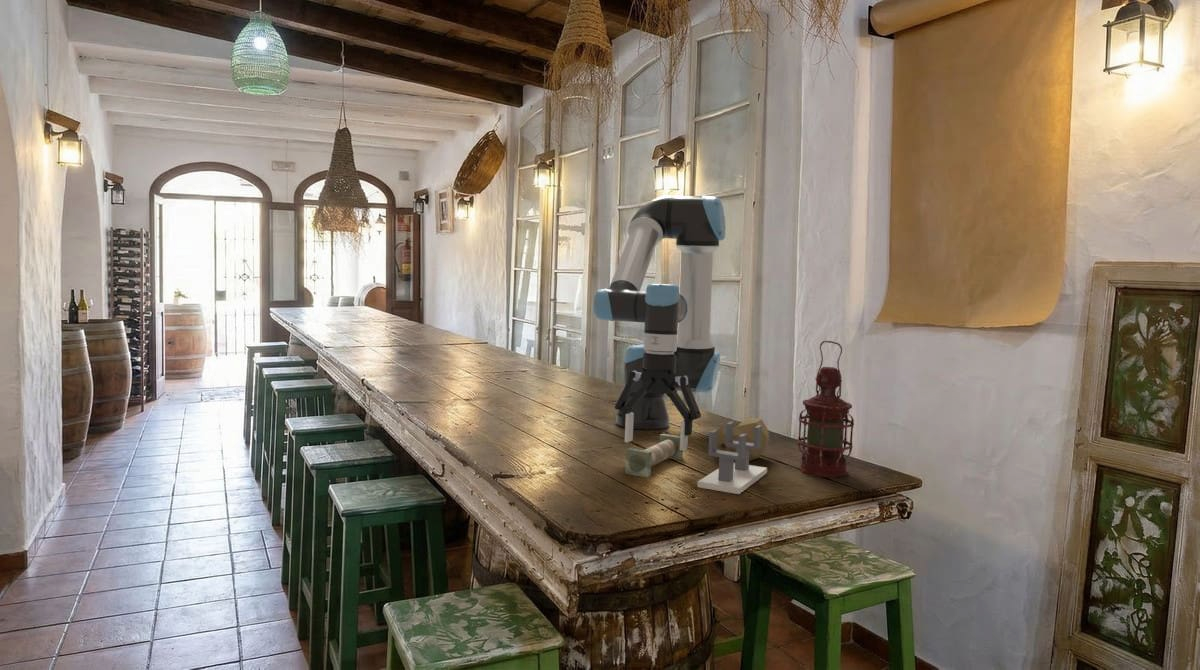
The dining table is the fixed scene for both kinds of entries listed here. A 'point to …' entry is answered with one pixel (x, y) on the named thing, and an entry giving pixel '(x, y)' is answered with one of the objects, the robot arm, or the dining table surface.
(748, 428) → the low-poly potato
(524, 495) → the dining table surface
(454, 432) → the dining table surface
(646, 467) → the column
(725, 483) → the bracket
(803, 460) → the lantern
